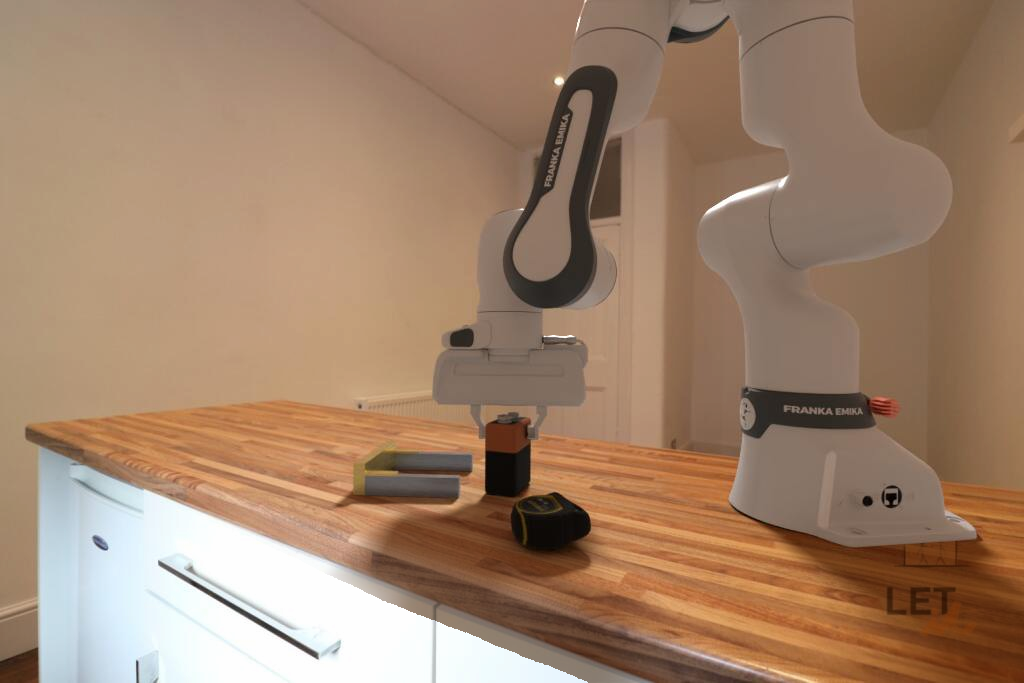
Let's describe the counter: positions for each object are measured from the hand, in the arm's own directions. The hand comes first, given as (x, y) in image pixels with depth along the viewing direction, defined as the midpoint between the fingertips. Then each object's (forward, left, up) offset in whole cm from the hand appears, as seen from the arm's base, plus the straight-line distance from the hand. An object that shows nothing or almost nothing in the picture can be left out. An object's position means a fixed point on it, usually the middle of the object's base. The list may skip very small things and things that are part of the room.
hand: (508, 438), depth 60 cm
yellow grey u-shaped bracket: (+12, -2, -7) cm, 14 cm away
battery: (0, 0, -7) cm, 7 cm away
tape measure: (-8, +16, -6) cm, 19 cm away
